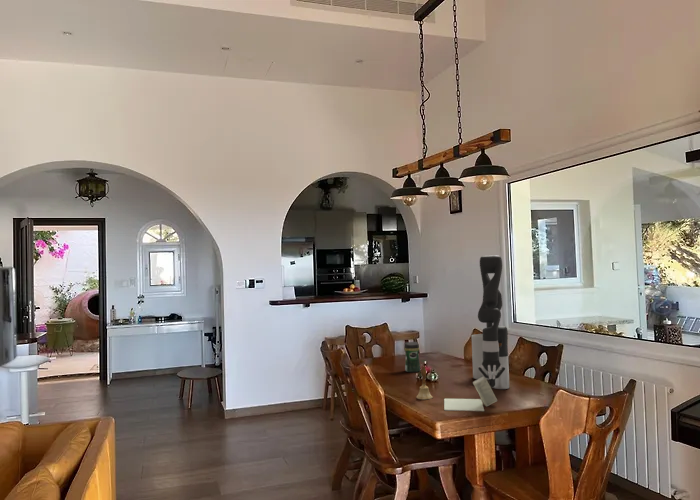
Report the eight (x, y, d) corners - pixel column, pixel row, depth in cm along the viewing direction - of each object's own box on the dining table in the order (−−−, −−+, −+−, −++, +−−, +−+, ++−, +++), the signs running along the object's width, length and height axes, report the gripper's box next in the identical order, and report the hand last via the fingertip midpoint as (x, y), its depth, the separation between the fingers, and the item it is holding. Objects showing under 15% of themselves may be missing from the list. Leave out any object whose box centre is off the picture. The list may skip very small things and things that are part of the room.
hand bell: (416, 395, 270) (415, 364, 270) (432, 395, 269) (431, 364, 269) (416, 399, 261) (415, 367, 262) (433, 399, 260) (431, 367, 261)
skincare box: (495, 398, 249) (483, 375, 249) (498, 401, 244) (486, 377, 245) (483, 404, 249) (472, 381, 249) (486, 407, 244) (474, 383, 244)
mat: (444, 399, 260) (444, 398, 260) (481, 399, 257) (481, 399, 257) (444, 410, 241) (444, 409, 241) (484, 411, 237) (484, 410, 237)
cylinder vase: (469, 377, 309) (467, 335, 310) (487, 375, 313) (485, 333, 314) (480, 381, 297) (478, 337, 298) (499, 379, 301) (497, 336, 302)
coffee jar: (418, 369, 336) (417, 340, 337) (421, 372, 328) (420, 342, 329) (403, 370, 335) (402, 341, 336) (406, 372, 327) (405, 343, 328)
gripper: (504, 348, 249) (505, 385, 249) (475, 348, 252) (477, 385, 251) (506, 351, 242) (507, 388, 241) (477, 351, 244) (478, 388, 243)
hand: (492, 386), depth 246 cm, fingers closed
